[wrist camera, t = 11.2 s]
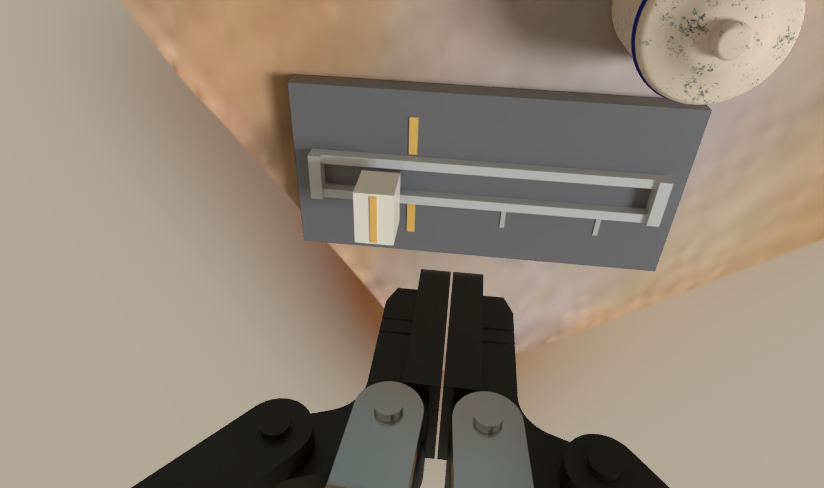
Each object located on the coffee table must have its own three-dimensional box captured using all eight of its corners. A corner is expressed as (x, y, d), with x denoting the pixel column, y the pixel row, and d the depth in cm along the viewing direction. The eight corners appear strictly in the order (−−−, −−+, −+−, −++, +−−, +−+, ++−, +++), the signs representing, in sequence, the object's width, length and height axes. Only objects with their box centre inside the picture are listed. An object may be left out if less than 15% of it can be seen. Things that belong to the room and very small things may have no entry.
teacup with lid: (634, 85, 43) (677, 151, 33) (585, -25, 39) (617, 14, 29) (808, -5, 38) (916, 42, 28) (772, -141, 34) (883, -139, 24)
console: (294, 74, 45) (282, 88, 42) (703, 100, 43) (718, 117, 40) (309, 228, 54) (299, 249, 51) (649, 258, 51) (658, 281, 48)
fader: (369, 152, 46) (352, 193, 40) (405, 155, 45) (393, 196, 40) (369, 198, 48) (354, 243, 43) (404, 201, 48) (393, 246, 42)
